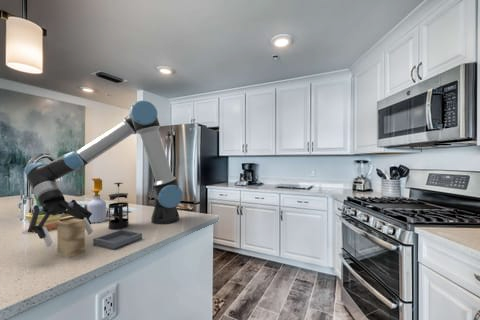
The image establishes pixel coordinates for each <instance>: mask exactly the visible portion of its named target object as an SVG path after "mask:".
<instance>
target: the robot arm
mask: <svg viewBox="0 0 480 320" xmlns="http://www.w3.org/2000/svg"><path fill="white" fill-rule="evenodd" d="M129 110H130V111H129V114H128V115H127V116H126V117H124V118H123V119H122V122H121V123H119V124H117V125H116V126H114V127H113V128H111V129H109V130H108V131H106V132H105V133H103V134H102V135H100V136H98V137H96V139H94V140H92V141H91V142H88V143H87V144H85V145H84V146H82V147H81V148H80V149H78V150H76V151H70V152H68V153H65V154H63V155H62V156H59V157H57V158H56V159H53V160H52V161H50V162H47V163H45V162H40V161H38V162H36V163H35V162H33V163H31V164H29V165H27V166H26V167H25V169H24V174H25V176H26V177H25V178H26V179H27V181H28V183H29V185H30V186H31V190H32V192H33V191H34V193H35V195H36V197H37V198H38V201H39V203H40V205H41V206H40V207H38V206H37V205H36V204H35V205H34V206H33V208H32V209H31V213H33V216H32V219H31V222H30V223H29V227H28V229H27V231H28V232H29V233H32V232H34V234H37V235H38V237H39V239H41V240H43V241H44V243H45V246H46V248H49V247H51V245H52V244H53V239H52V237H51V235H50V233H49V230H47V229H46V227H43V225H44V224H45V222H46V220H47V219H48V217H49V216H50V215H53V216H54V215H57V214H62V215H69V216H72V217H74V218H75V219H81V220H85V231H86V233H87V234H88V236H89V235H91V234H92V232H93V231H94V229H93V227H92V223H91V222H90V220H89V218H90V216H91V215H92V213H91V212H89V211H88V210H87V208H85V207H84V206H82V205H81V204H79V203H77V201H76V199H71V201H66V199H65V196H64V194H63V193H62V191H61V189H60V186H59V185H58V184H57V182H56V180H59V179H60V178H63V177H65V176H67V175H68V174H71V173H76V172H78V171H81V169H83V168H84V167H85V166H86V165H89V163H91V162H92V161H94V160H95V159H97V158H98V157H100V156H102V154H104V153H106V152H107V151H109V150H111V148H113V147H115V146H116V145H118V144H119V143H121V142H122V141H124V140H126V139H127V138H128V137H130V136H131V135H136V134H138V135H140V137H141V141H142V144H143V147H144V149H145V153H146V155H147V159H148V162H149V166H150V169H151V173H152V175H153V179H154V183H153V188H154V189H153V190H154V195H153V197H154V203H153V204H154V209H153V211H152V214H151V219H150V220H151V221H150V222H151V223H153V224H156V225H164V224H165V225H166V224H171V223H176V222H177V221H180V215H179V211H178V209H177V206H178V205H179V204H180V203H181V202H182V200H183V197H184V196H183V194H184V193H183V190H182V188H181V187H180V186H179V182H178V180H177V177H175V176H174V175H173V173H172V170H171V166H170V164H169V160H168V158H167V154H166V152H165V148H164V145H163V142H162V138H161V135H160V132H159V129H160V128H161V125H160V122H159V118H158V114H159V113H158V109H157V107H156V106H155V105H154V104H153V103H152V102H149V101H148V100H138V101H136V102H134V103H133V104H132V106H131V107H130V108H129ZM34 193H33V194H34ZM41 210H42V211H44V212H46V215H45V216H44V218H43V219H42V221H41V222H40V224H39V225H38V226H35V225H36V222H37V218H38V214H39V212H40V211H41ZM42 227H43V228H42Z"/></svg>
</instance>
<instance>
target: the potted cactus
mask: <svg viewBox="0 0 480 320" xmlns="http://www.w3.org/2000/svg"><path fill="white" fill-rule="evenodd" d="M32 194H33V197H34V199H35V203H36V204H35V205H37V206H38V207H40V206H41V205H40V203H39V201H38V198H37V197H36V195H35V193H34V191H33V190H32ZM45 215H46V212H44V211H42V210H41V211H40V212H39V214H38V218H37V222H36V225H35V226H38V225H39V224H40V222H41V221H42V219H43V218H44V216H45ZM62 215H63V214H57V215H54V216H53V215H50V216H49V217H48V219H47V220H46V222H45V224H44V225H43V227H46V229H47V231H49V230H52V229H56V228H57V222H60V221H61V219H62ZM32 216H33V213H32V212H29V213H26V214H25V215H24V217H25V219H26V220H27V221H28V223H29V224H30V222H31V219H32ZM43 227H42V228H43Z"/></svg>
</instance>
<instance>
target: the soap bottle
mask: <svg viewBox="0 0 480 320" xmlns="http://www.w3.org/2000/svg"><path fill="white" fill-rule="evenodd" d="M91 180H92V181H93V189H92V190H91V192H93V193H94V194H93V196H92V199H91V200H90V201H89V202H88V203H87V205H86V206H87V208H86V210H88V211H89V212H91V213H92V215H91V216H90V218H89V220H90V222H91V224H99V223H102V221H103V222H104V221H107V203H106V201H105V200H104V199H101V195H100V194H99V193H100V192H101V191H103V179H101V178H100V177H99V178H91ZM94 222H95V223H94ZM98 222H99V223H98Z"/></svg>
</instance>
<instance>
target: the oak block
mask: <svg viewBox="0 0 480 320" xmlns="http://www.w3.org/2000/svg"><path fill="white" fill-rule="evenodd" d="M56 229H57V230H56V231H57V240H56V241H57V255H58V256H60V257H64V258H66V259H68V258H71V257H74V256H76V255H79V254H82V253H85V252H86V242H85V241H86V238H85V235H86V234H85V231H86V230H85V220H81V219H78V218H72V219H71V218H70V219H67V220H66V219H65V220H62V221H58V222H57V227H56Z"/></svg>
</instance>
